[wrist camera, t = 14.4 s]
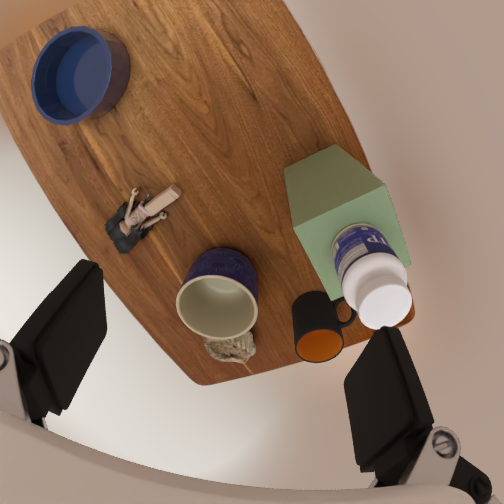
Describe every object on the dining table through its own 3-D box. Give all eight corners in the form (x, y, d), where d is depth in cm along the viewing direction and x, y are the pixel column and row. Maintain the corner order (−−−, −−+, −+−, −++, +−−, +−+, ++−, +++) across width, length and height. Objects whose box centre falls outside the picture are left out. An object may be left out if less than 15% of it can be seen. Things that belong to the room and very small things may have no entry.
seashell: (216, 303, 63) (193, 342, 63) (215, 312, 56) (189, 355, 56) (263, 329, 64) (239, 366, 64) (268, 340, 57) (241, 381, 57)
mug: (358, 301, 57) (371, 338, 48) (307, 330, 61) (312, 369, 52) (337, 272, 54) (348, 308, 45) (283, 305, 58) (285, 344, 49)
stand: (282, 168, 46) (292, 228, 27) (335, 143, 44) (385, 184, 24) (308, 217, 50) (331, 301, 30) (358, 193, 47) (411, 264, 28)
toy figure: (155, 163, 47) (104, 223, 52) (146, 175, 42) (92, 241, 46) (187, 192, 50) (134, 247, 55) (182, 207, 45) (125, 267, 49)
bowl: (63, 33, 35) (41, 30, 29) (140, 32, 36) (122, 25, 30) (49, 116, 42) (26, 121, 37) (120, 124, 44) (101, 130, 38)
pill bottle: (395, 243, 27) (433, 300, 19) (358, 281, 29) (382, 346, 21) (356, 210, 26) (390, 262, 18) (318, 253, 28) (334, 317, 20)
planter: (264, 244, 52) (262, 280, 43) (256, 302, 58) (253, 344, 49) (190, 236, 53) (173, 270, 43) (191, 295, 58) (177, 334, 49)
